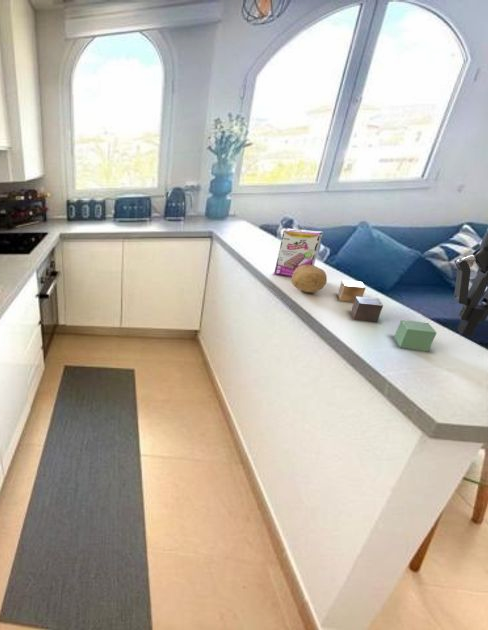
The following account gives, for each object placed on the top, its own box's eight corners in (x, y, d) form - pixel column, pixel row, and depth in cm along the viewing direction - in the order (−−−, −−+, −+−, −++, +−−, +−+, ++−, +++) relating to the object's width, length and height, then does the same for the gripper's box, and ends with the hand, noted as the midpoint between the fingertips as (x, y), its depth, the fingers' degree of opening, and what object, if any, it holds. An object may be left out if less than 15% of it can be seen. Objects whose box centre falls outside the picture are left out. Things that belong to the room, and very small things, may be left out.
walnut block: (372, 314, 96) (378, 298, 94) (376, 322, 93) (383, 305, 90) (350, 312, 99) (355, 296, 96) (353, 319, 95) (359, 303, 93)
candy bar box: (273, 274, 129) (282, 230, 121) (277, 270, 132) (286, 227, 124) (308, 280, 121) (320, 234, 114) (311, 276, 125) (323, 231, 117)
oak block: (357, 296, 107) (362, 281, 105) (360, 303, 103) (365, 287, 101) (337, 294, 109) (341, 280, 107) (340, 300, 105) (344, 285, 103)
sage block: (420, 341, 83) (428, 323, 81) (428, 351, 79) (436, 332, 77) (393, 337, 86) (401, 319, 83) (399, 347, 82) (407, 329, 79)
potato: (317, 283, 119) (323, 261, 115) (329, 299, 107) (336, 275, 103) (284, 281, 122) (289, 260, 118) (292, 297, 110) (298, 273, 107)
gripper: (480, 230, 66) (431, 335, 77) (584, 233, 61) (515, 346, 71) (463, 222, 72) (419, 320, 83) (556, 224, 67) (496, 330, 77)
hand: (463, 332), depth 77 cm, fingers closed
